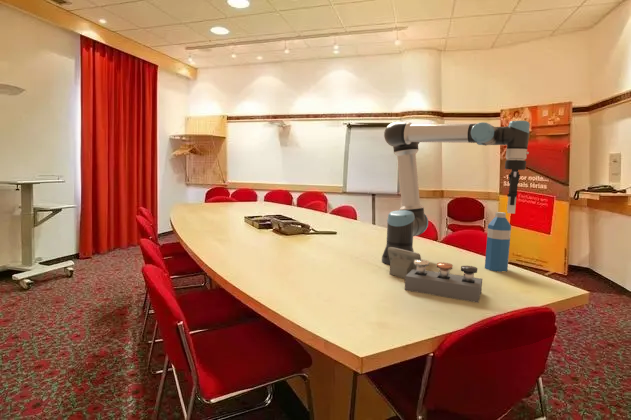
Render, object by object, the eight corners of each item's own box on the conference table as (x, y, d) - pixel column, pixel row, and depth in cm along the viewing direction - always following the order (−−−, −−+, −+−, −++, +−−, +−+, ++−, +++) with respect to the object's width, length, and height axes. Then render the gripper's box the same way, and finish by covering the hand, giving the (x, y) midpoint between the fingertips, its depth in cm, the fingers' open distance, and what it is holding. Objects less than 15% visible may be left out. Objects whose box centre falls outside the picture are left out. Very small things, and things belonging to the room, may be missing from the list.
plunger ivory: (411, 275, 136) (412, 261, 136) (415, 272, 141) (415, 258, 140) (426, 278, 134) (427, 263, 133) (429, 274, 139) (430, 260, 138)
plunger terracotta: (434, 279, 133) (435, 264, 132) (437, 275, 137) (438, 261, 137) (450, 281, 130) (451, 266, 130) (452, 278, 135) (453, 263, 134)
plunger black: (459, 283, 129) (460, 268, 128) (461, 279, 134) (462, 264, 133) (475, 285, 127) (476, 270, 126) (477, 281, 131) (478, 267, 131)
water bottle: (510, 272, 163) (515, 214, 160) (487, 270, 164) (491, 213, 162) (504, 267, 172) (509, 212, 169) (482, 265, 173) (486, 211, 171)
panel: (404, 289, 135) (405, 276, 134) (412, 281, 145) (413, 268, 145) (478, 302, 124) (479, 287, 123) (481, 292, 134) (482, 278, 134)
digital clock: (426, 279, 148) (428, 253, 147) (407, 282, 144) (409, 254, 143) (400, 269, 163) (401, 244, 162) (382, 271, 159) (383, 246, 158)
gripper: (528, 159, 142) (522, 215, 145) (524, 161, 165) (519, 209, 167) (505, 158, 145) (500, 213, 148) (505, 160, 168) (500, 208, 170)
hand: (510, 211), depth 157 cm, fingers open, 13 cm apart
